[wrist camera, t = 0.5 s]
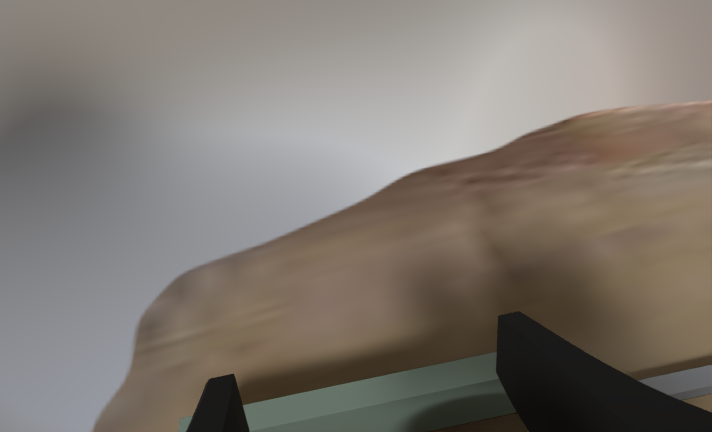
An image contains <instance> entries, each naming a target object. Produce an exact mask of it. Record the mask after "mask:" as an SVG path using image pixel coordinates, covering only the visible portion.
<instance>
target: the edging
mask: <svg viewBox="0 0 712 432" xmlns="http://www.w3.org/2000/svg"><path fill="white" fill-rule="evenodd" d="M637 381H639V382H641V383H643V384H645V385H648V386H650V387H652V388H654V389H656V390H659V391H661V392H663V393H665V394H667V395H669V396H672V397H674V398H676V399H679V400H684V399H689V398H693V397H698V396H703V395H707V394H712V365H708V366H703V367H698V368H694V369H689V370H684V371H679V372H675V373H670V374H665V375H661V376H656V377H651V378H646V379H642V380H637Z"/></svg>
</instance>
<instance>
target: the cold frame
mask: <svg viewBox="0 0 712 432" xmlns="http://www.w3.org/2000/svg"><path fill="white" fill-rule="evenodd" d="M563 339H564V338H563ZM496 357H497V352H493V353H488V354H483V355H479V356H474V357H469V358H464V359H460V360H455V361H450V362H445V363H441V364H436V365H431V366H426V367H422V368H417V369H412V370H407V371H403V372H398V373H393V374H388V375H384V376H379V377H374V378H370V379H365V380H360V381H355V382H351V383H346V384H341V385H336V386H332V387H327V388H322V389H317V390H313V391H308V392H303V393H298V394H294V395H289V396H284V397H279V398H275V399H270V400H265V401H260V402H256V403H251V404H246V405H243V408H244V412H245V415H246V419H247V423H248V426H249V430H250V432H427V431H432V430H437V429H441V428H446V427H451V426H455V425H460V424H465V423H470V422H474V421H479V420H484V419H488V418H493V417H498V416H503V415H507V414H512V413H517V412H516V410H515V409H514V407H513V405H512V403H511V402H510V400H509V398H508V396H507V394H506V392H505V390H504V388H503V386H502V384H501V382H500V379H499V377H498V375H497V373H496ZM192 417H193V416H189V417H185V418H180V421H179V429H178V432H186V430H187V428H188V426H189V424H190V422H191V419H192Z"/></svg>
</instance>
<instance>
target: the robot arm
mask: <svg viewBox="0 0 712 432" xmlns="http://www.w3.org/2000/svg"><path fill="white" fill-rule="evenodd" d="M496 373H497V375H498V377H499V379H500V382H501V384H502V386H503V388H504V390H505V392H506V394H507V396H508V398H509V400H510V402H511V403H512V405H513V407H514V409H515V410H516V412H517V413H518V415H519V416H520V418H521V419H522V421H523V422H524V424H525V425H526V427H527V428H528V430H529V432H712V413H711V412H709V411H706V410H703V409H701V408H698V407H696V406H693V405H691V404H688V403H686V402H683V401H681V400H679V399H676V398H674V397H672V396H669V395H667V394H665V393H663V392H661V391H659V390H656V389H654V388H652V387H650V386H648V385H645V384H643V383H641V382H639V381H637V380H635V379H633V378H631V377H629V376H627V375H626V374H624V373H622V372H620V371H618V370H616V369H614V368H612V367H611V366H609V365H607V364H605V363H603V362H601V361H600V360H598V359H596V358H594V357H593V356H591V355H589V354H588V353H586V352H584V351H582V350H581V349H579V348H577V347H576V346H574V345H572V344H571V343H569V342H568V341H566V340H564V339H563V338H561V337H559V336H558V335H556V334H555V333H553V332H551V331H550V330H548V329H547V328H545V327H544V326H542V325H540V324H539V323H537V322H536V321H534V320H532V319H531V318H529V317H527V316H526V315H524V314H522V313H521V312H519V311H518V312H514V313H509V314H505V315H500V316H498V334H497V357H496ZM186 432H250V430H249V426H248V423H247V419H246V415H245V412H244V408H243V405H242V401H241V397H240V394H239V390H238V386H237V383H236V379H235V376H234V374H230V375H225V376H221V377H216V378H211V379H209V380H208V382H207V383H206V385H205V388H204V390H203V393H202V396H201V398H200V401H199V403H198V405H197V408H196V410H195V413H194V415H193V417H192V419H191V422H190V424H189V426H188V428H187V430H186Z"/></svg>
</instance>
